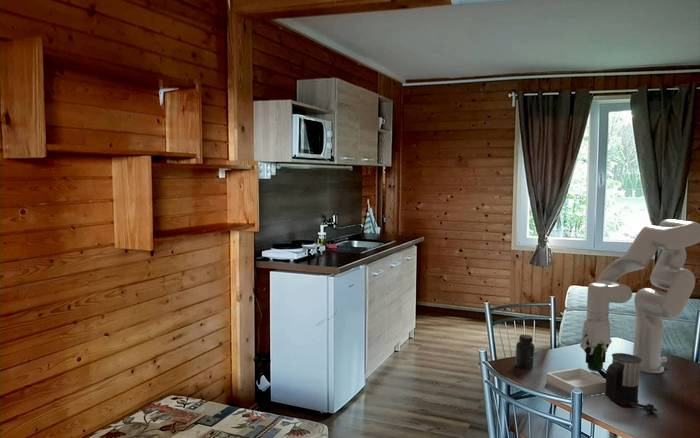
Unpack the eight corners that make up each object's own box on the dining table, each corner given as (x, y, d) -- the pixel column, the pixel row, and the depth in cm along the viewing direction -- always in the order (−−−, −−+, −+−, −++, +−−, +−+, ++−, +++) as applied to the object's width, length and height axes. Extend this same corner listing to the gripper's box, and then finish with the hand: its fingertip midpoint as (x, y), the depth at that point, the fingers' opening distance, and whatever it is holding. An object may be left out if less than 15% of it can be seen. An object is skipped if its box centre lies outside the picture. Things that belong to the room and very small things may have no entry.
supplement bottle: (534, 370, 214) (536, 339, 213) (515, 368, 215) (517, 338, 214) (532, 364, 220) (534, 334, 219) (514, 362, 222) (515, 332, 221)
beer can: (588, 371, 211) (589, 340, 209) (586, 366, 216) (588, 336, 215) (603, 372, 209) (605, 341, 208) (601, 367, 214) (603, 337, 213)
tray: (579, 378, 207) (579, 367, 206) (610, 392, 194) (611, 381, 194) (545, 383, 200) (546, 373, 200) (575, 399, 188) (576, 387, 187)
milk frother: (612, 391, 195) (615, 350, 193) (663, 405, 185) (667, 361, 183) (600, 404, 184) (603, 360, 183) (653, 419, 174) (657, 373, 173)
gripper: (605, 311, 217) (603, 356, 219) (572, 316, 210) (570, 362, 212) (622, 315, 210) (619, 362, 212) (588, 321, 203) (586, 369, 205)
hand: (595, 362), depth 212 cm, fingers closed on beer can, 5 cm apart
